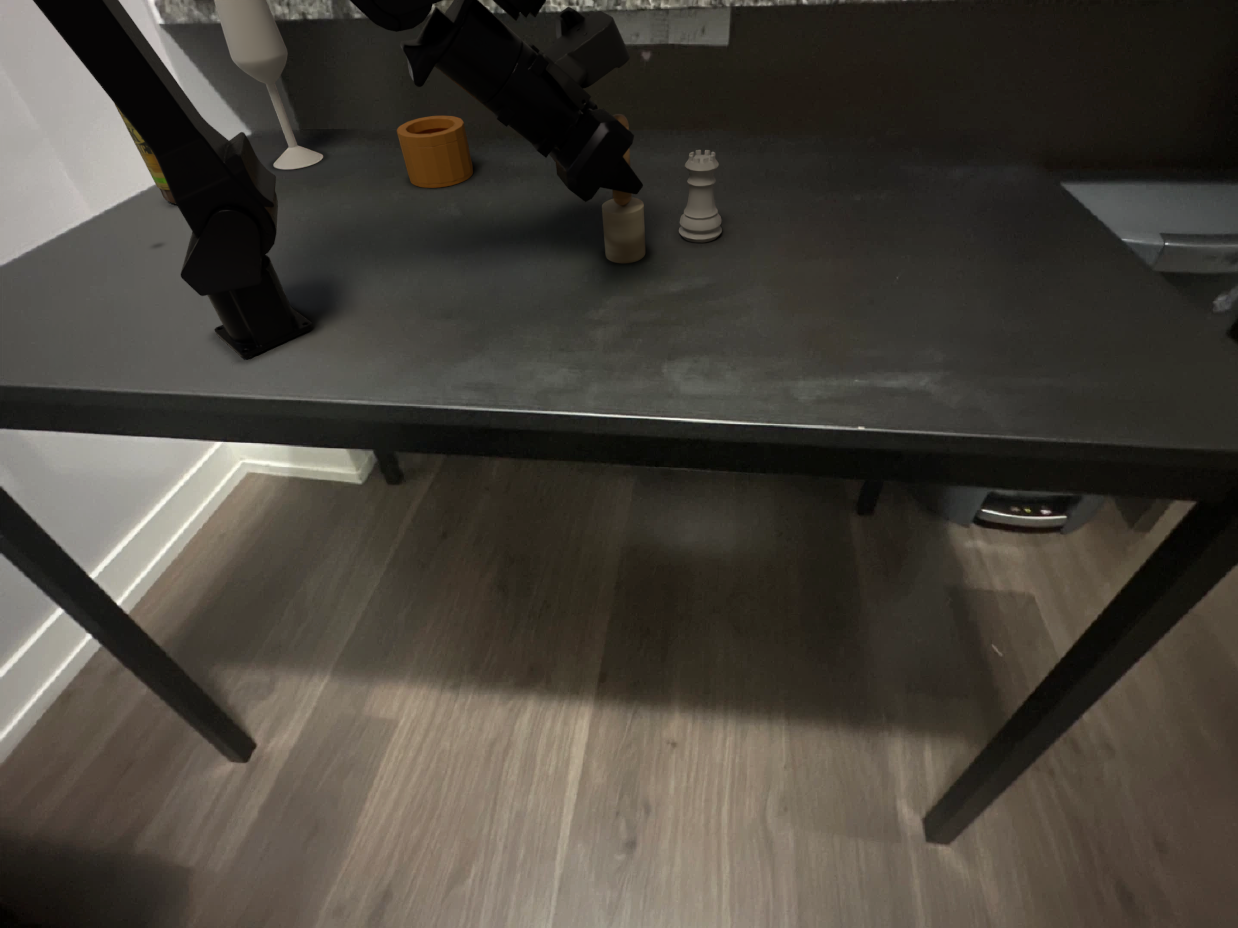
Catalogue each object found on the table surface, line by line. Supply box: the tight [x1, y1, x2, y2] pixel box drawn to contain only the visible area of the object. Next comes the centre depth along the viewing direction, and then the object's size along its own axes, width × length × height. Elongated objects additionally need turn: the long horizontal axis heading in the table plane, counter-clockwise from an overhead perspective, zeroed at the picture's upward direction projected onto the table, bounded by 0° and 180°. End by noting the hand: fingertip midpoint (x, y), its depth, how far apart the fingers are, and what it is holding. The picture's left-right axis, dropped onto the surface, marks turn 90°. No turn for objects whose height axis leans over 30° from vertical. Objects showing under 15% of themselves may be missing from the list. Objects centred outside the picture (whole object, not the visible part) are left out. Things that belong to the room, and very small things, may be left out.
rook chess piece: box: [678, 149, 723, 243], centre depth 68 cm, size 4×4×8 cm
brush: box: [601, 113, 646, 264], centre depth 64 cm, size 4×4×13 cm
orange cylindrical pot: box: [396, 115, 474, 189], centre depth 85 cm, size 8×8×6 cm
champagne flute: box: [213, 0, 324, 170], centre depth 87 cm, size 7×7×24 cm
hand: (635, 185), depth 64 cm, fingers closed on brush, 2 cm apart
